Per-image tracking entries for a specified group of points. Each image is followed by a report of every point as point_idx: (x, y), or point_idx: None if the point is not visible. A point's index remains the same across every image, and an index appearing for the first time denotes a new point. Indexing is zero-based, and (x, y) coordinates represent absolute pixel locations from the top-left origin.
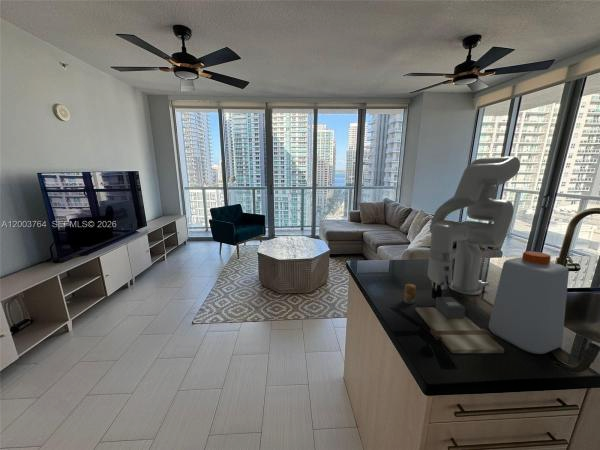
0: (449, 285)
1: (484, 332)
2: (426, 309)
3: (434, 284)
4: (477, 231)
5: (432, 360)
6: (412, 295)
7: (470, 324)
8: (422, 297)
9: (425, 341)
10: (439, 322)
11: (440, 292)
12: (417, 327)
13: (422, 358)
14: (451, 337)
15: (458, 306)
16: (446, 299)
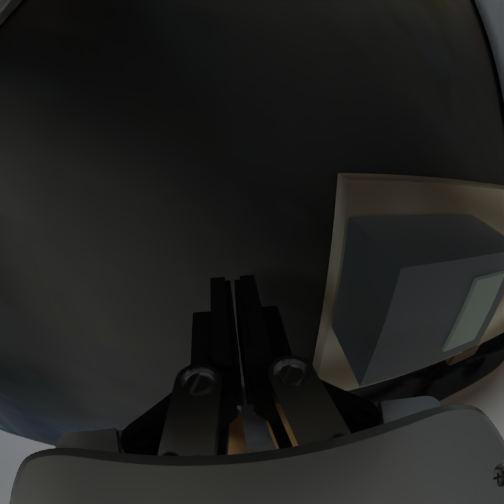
0: (452, 410)
1: None
2: (341, 366)
3: (226, 446)
4: None
5: (489, 359)
6: (244, 435)
7: (498, 213)
8: (131, 321)
9: (457, 368)
10: None
11: (290, 351)
12: (410, 383)
13: (477, 373)
14: (495, 320)
15: (501, 286)
16: (417, 331)
